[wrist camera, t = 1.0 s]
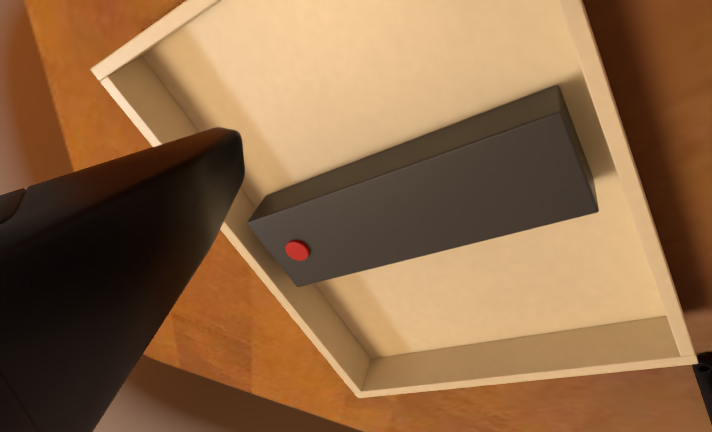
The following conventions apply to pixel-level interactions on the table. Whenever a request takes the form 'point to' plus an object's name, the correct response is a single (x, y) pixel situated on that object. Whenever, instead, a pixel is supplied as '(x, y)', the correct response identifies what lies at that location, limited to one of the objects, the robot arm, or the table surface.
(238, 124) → the tray
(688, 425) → the table surface
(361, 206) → the remote
